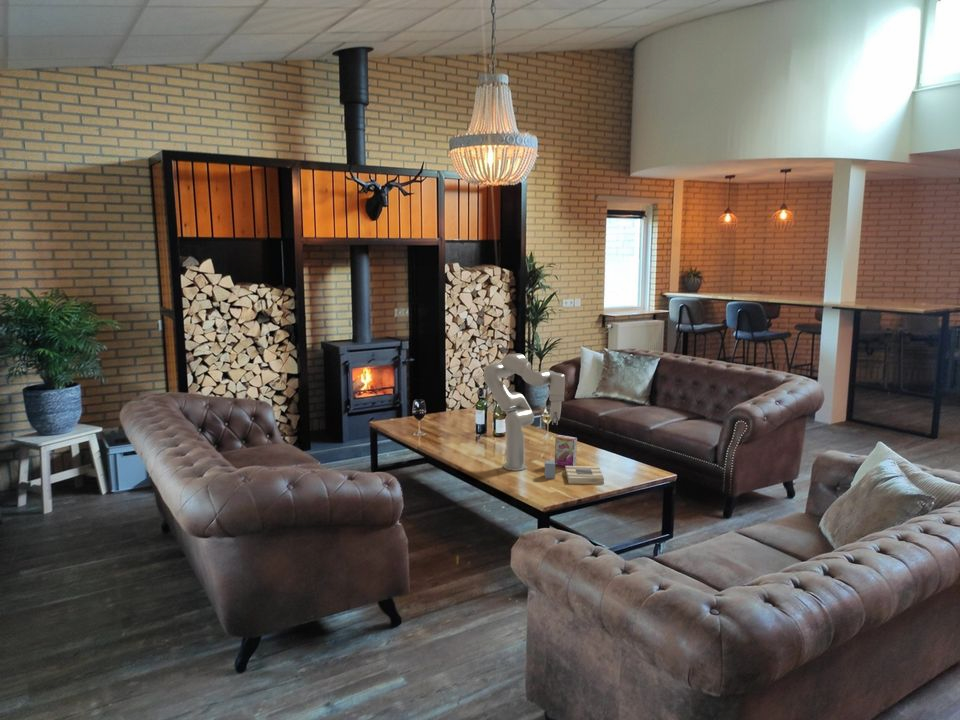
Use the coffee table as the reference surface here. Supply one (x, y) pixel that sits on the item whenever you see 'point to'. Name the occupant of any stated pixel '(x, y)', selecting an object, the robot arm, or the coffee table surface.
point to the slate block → (550, 469)
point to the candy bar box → (565, 450)
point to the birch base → (584, 474)
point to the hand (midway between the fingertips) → (555, 429)
